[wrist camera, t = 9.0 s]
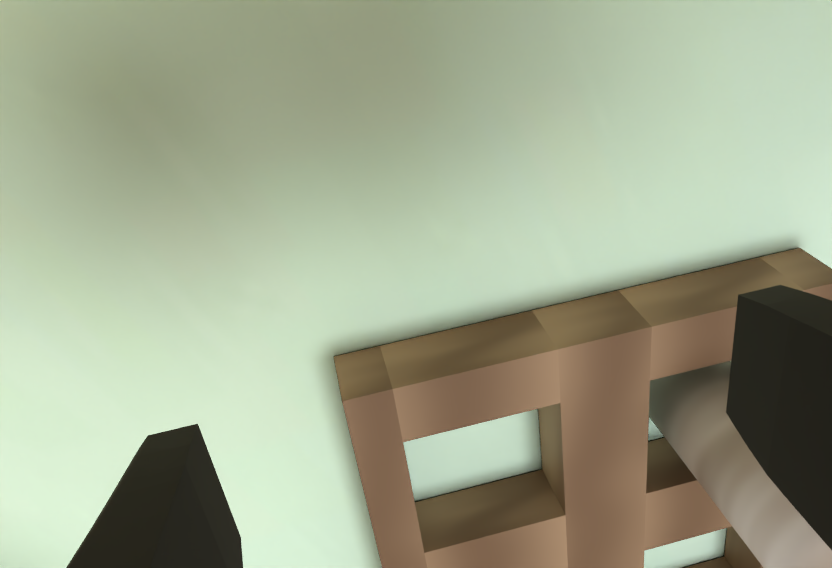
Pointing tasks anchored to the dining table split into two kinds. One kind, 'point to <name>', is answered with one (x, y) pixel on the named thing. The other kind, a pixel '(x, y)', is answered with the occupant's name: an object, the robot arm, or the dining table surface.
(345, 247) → the dining table surface
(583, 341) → the wooden grid tray
